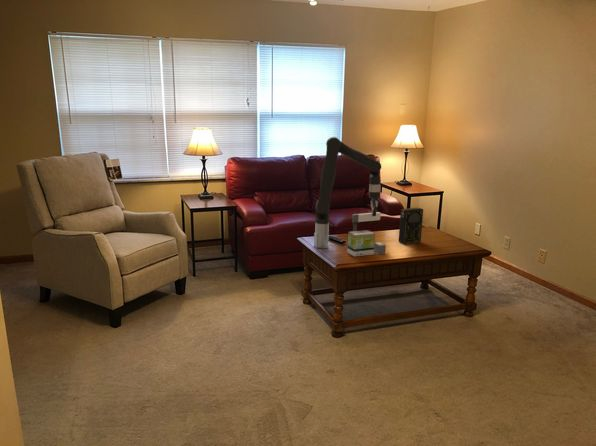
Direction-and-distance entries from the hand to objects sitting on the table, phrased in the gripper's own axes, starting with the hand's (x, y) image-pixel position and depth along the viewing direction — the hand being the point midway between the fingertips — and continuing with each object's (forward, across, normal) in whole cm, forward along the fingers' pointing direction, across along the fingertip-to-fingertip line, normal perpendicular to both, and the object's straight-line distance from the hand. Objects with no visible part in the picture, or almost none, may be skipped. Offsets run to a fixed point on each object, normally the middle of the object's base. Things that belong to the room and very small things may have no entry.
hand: (374, 215), depth 314 cm
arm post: (+22, -1, +14) cm, 26 cm away
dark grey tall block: (+24, +12, -30) cm, 40 cm away
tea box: (+23, -12, +12) cm, 28 cm away
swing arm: (+4, +1, +5) cm, 6 cm away
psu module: (+23, -10, -1) cm, 25 cm away
